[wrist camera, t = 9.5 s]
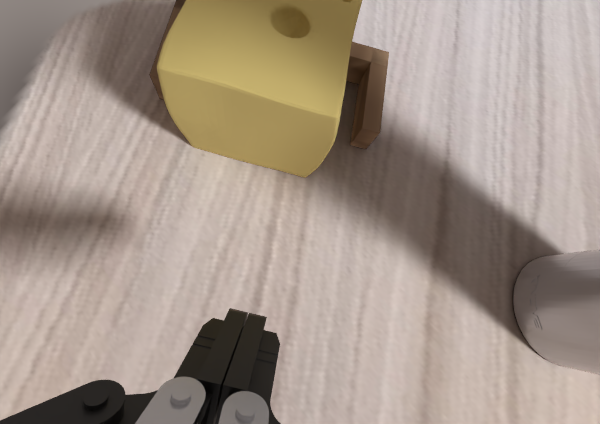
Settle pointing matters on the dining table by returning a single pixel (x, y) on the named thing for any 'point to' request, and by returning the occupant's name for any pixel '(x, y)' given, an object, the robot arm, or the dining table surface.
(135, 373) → the dining table surface
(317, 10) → the cheese
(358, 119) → the walnut cradle
